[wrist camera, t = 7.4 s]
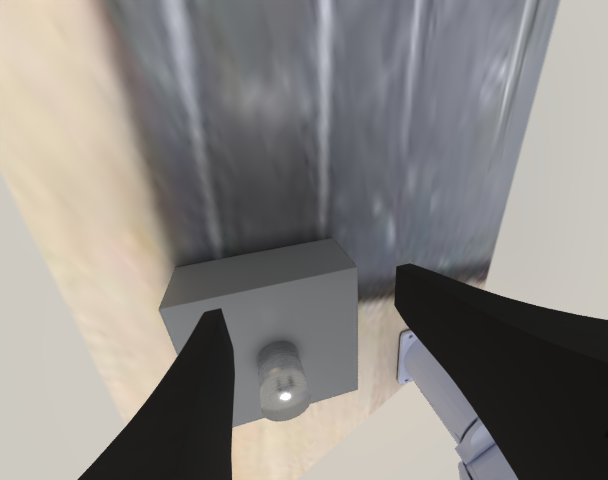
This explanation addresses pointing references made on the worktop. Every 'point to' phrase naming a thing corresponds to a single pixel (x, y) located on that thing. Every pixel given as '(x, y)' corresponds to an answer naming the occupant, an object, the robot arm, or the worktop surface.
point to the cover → (276, 324)
